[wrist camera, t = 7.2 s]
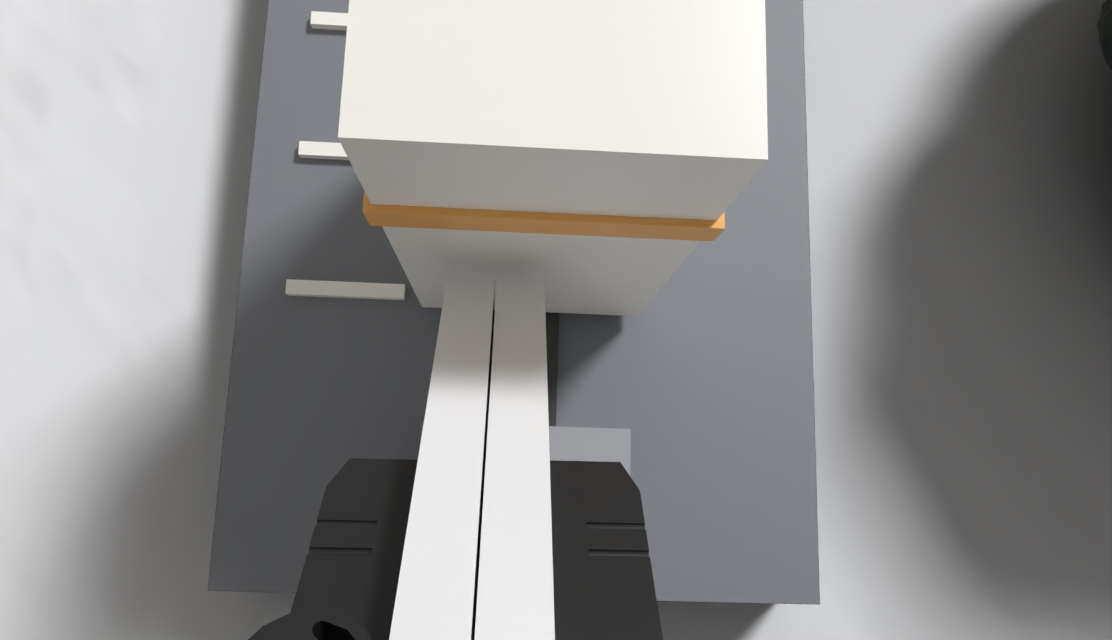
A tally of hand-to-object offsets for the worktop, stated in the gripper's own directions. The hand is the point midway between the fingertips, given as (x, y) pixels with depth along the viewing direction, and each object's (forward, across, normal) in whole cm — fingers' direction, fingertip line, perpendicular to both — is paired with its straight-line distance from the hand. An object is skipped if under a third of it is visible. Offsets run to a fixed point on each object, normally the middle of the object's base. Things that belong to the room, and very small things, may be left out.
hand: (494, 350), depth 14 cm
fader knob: (+4, +1, 0) cm, 5 cm away
